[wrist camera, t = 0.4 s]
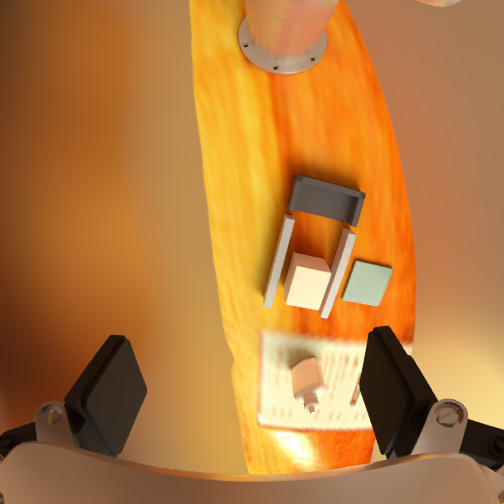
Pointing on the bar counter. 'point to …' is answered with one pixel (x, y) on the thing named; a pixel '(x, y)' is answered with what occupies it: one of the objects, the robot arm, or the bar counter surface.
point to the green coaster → (367, 283)
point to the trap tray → (326, 199)
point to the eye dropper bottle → (308, 383)
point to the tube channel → (336, 270)
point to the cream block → (306, 281)
